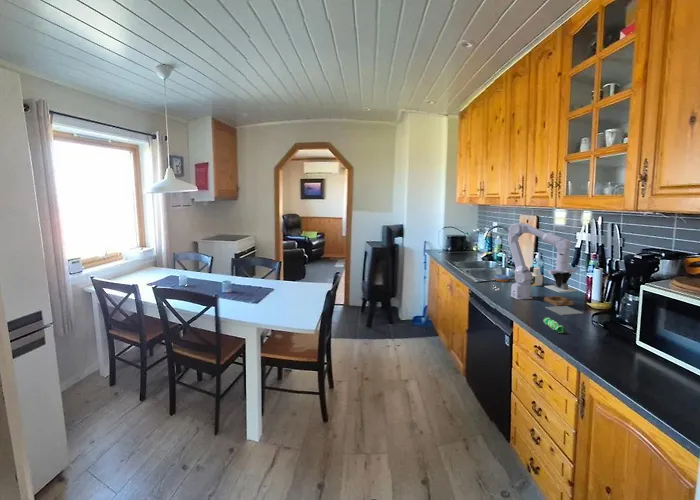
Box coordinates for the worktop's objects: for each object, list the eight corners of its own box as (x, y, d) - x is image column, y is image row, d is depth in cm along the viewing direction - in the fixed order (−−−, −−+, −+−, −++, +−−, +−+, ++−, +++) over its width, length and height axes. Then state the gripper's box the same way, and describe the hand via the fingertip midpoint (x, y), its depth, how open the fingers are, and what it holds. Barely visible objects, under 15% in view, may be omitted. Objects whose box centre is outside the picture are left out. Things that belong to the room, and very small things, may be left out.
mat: (561, 315, 171) (561, 314, 171) (545, 307, 183) (545, 307, 183) (583, 313, 173) (583, 313, 173) (565, 306, 185) (565, 305, 184)
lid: (558, 293, 180) (559, 286, 179) (544, 288, 191) (544, 281, 190) (577, 292, 181) (578, 284, 181) (562, 287, 192) (562, 279, 191)
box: (556, 306, 184) (556, 302, 184) (543, 301, 194) (544, 297, 194) (573, 305, 186) (573, 301, 185) (559, 300, 195) (560, 296, 195)
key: (493, 290, 219) (500, 291, 218) (493, 289, 219) (500, 289, 217) (490, 286, 230) (497, 286, 229) (490, 284, 230) (497, 285, 229)
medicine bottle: (525, 284, 232) (526, 266, 230) (533, 282, 234) (534, 265, 232) (534, 286, 225) (535, 268, 223) (542, 285, 228) (543, 267, 226)
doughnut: (499, 278, 249) (500, 272, 248) (512, 281, 240) (512, 275, 239) (490, 281, 245) (490, 275, 243) (502, 284, 236) (502, 278, 235)
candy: (566, 331, 149) (562, 324, 149) (559, 336, 150) (555, 328, 149) (552, 321, 161) (547, 315, 161) (545, 325, 162) (541, 319, 161)
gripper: (555, 263, 179) (554, 289, 181) (580, 262, 181) (578, 287, 183) (546, 261, 186) (544, 285, 188) (570, 259, 188) (568, 284, 190)
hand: (560, 286), depth 186 cm, fingers closed on lid, 2 cm apart
